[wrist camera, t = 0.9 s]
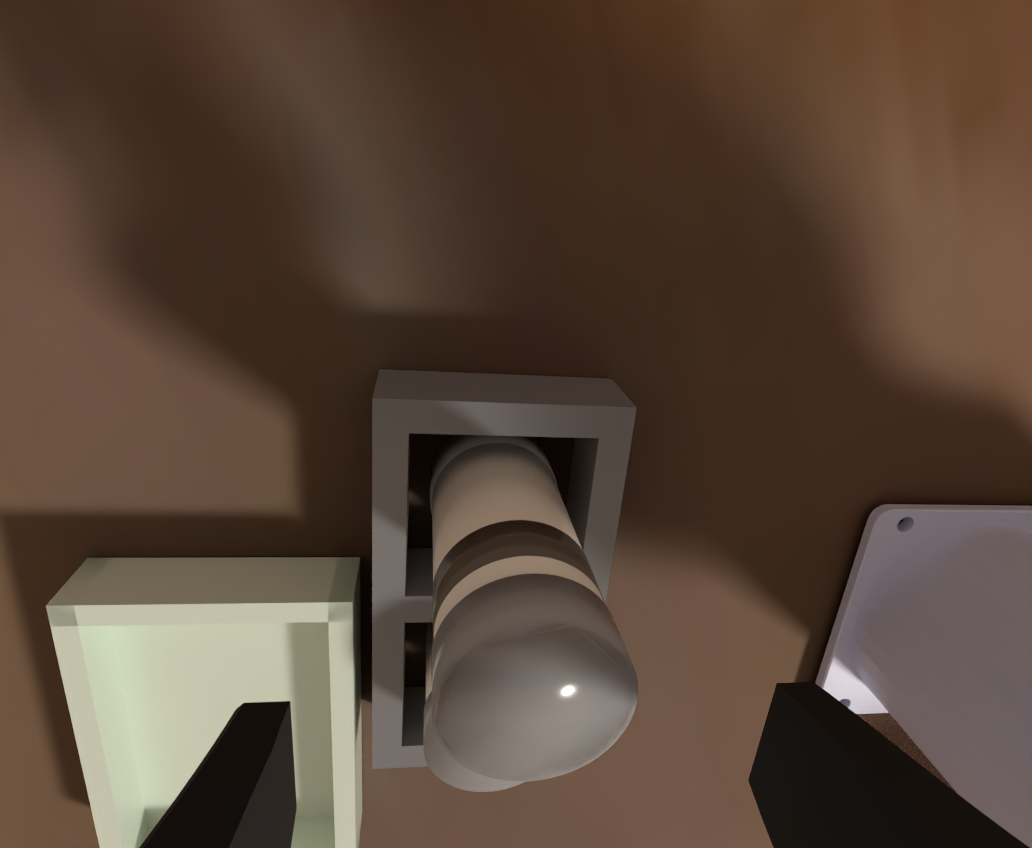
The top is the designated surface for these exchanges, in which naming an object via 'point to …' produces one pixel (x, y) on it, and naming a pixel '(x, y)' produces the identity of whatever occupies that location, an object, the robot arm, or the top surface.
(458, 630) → the cylinder
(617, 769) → the top surface
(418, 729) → the grey compartment rack
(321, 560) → the parts tray
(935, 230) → the top surface
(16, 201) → the top surface
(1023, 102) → the top surface
